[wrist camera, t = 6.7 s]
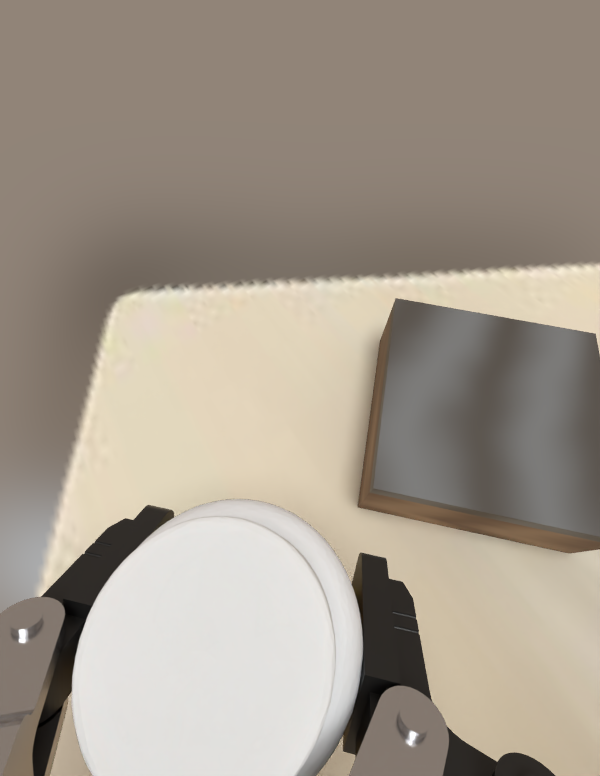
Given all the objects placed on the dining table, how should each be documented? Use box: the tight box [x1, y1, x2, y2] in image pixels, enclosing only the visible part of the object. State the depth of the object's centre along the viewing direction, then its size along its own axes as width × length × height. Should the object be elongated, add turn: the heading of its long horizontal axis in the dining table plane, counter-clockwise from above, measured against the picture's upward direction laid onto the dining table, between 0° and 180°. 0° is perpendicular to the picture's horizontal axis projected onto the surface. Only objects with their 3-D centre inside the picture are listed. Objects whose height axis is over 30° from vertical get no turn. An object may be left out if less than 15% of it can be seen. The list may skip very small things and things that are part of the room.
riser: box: [358, 298, 600, 553], centre depth 25 cm, size 13×13×5 cm
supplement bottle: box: [72, 499, 363, 776], centre depth 10 cm, size 6×6×10 cm
